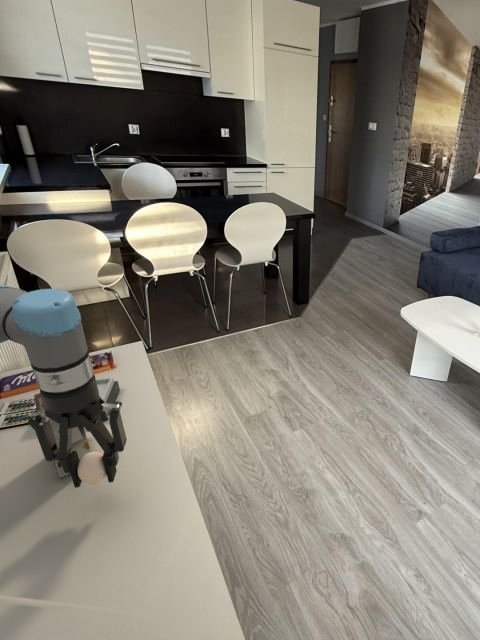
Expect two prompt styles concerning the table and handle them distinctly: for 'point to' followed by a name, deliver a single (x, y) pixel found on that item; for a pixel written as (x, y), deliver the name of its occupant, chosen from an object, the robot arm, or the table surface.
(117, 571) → the table surface
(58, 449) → the robot arm
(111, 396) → the kitchen scale
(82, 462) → the egg
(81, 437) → the coffee box
